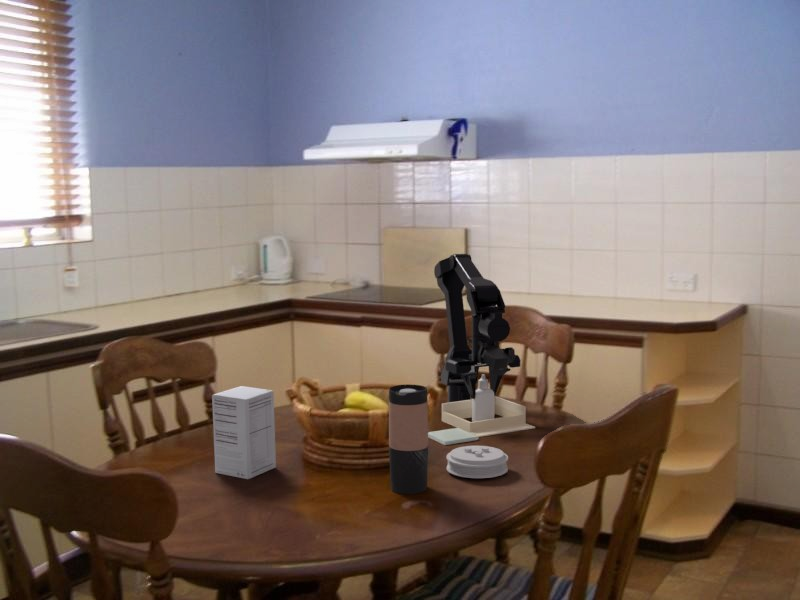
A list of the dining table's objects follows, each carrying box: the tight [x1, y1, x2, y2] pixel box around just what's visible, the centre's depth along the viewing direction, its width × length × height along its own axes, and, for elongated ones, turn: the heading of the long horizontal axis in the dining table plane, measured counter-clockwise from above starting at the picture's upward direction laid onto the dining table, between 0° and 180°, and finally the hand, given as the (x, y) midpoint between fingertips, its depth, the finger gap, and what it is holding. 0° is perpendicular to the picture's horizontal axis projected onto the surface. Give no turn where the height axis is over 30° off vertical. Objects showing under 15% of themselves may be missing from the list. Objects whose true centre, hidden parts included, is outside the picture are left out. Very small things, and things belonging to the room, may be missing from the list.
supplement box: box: [211, 385, 277, 480], centre depth 198 cm, size 10×9×17 cm
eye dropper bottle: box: [471, 373, 495, 422], centre depth 235 cm, size 4×6×12 cm
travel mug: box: [388, 384, 429, 495], centre depth 185 cm, size 8×8×20 cm
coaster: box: [428, 427, 479, 446], centre depth 223 cm, size 9×9×1 cm
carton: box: [441, 395, 536, 438], centre depth 234 cm, size 17×16×4 cm
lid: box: [446, 445, 509, 479], centre depth 196 cm, size 13×13×5 cm
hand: (483, 397), depth 235 cm, fingers closed on eye dropper bottle, 5 cm apart
